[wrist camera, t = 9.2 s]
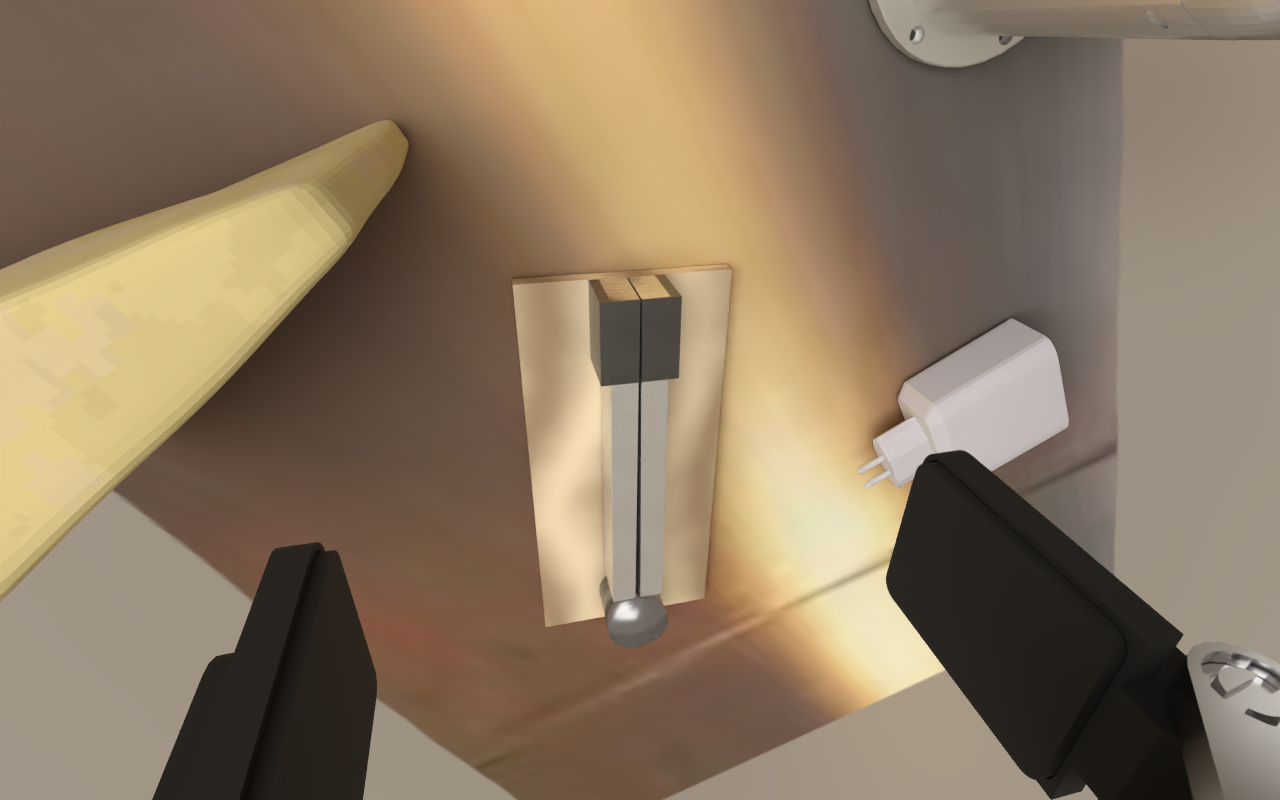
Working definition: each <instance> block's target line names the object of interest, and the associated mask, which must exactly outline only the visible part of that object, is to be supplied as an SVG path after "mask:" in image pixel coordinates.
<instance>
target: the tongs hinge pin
mask: <svg viewBox="0 0 1280 800" xmlns="http://www.w3.org/2000/svg"><path fill="white" fill-rule="evenodd" d="M599 593H600V597H601V601H602V605H603V610H604V614H605V618H606V622H607V627H608V631H609V635H610V638H611V639H612V640H613V642H615V643H616V644H618V645H620V646H623V647H639V646H643V645H646V644H648V643H650V642H652V641H654V640H656V639H657V638H658V637H659V636H660V635H662V633H663V632H664V631H665V629H666V627H667V624H668V616H667V613H666V610H665V607H664V604H663V601H662V599H661V596H660V594H656V595H651V596H645V597H640V594H639V591H638V588H637V585H636V588H635V598H634V599H628V600H622V601H617V602H613V599H612V595H611V591H610V588H609V584H608V580H607V576H605V577H604V578H603V580H602V582H601V584H600V587H599Z"/></svg>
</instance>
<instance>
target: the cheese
mask: <svg viewBox="0 0 1280 800" xmlns="http://www.w3.org/2000/svg"><path fill="white" fill-rule="evenodd" d="M408 147H409V143H408V141H407V139H406V137H405V136H404V135H403V133H402V132H401V130H400V129H399V128H398V126H397V125H396V124H395V123H394V122H393V121H390V120H383V121H379V122H376V123H373V124H370V125H368V126H365V127H363V128H361V129H358V130H356V131H354V132H352V133H349V134H347V135H345V136H343V137H340V138H338V139H336V140H334V141H331V142H329V143H327V144H325V145H322V146H320V147H318V148H316V149H313V150H311V151H309V152H306V153H304V154H302V155H300V156H297V157H295V158H293V159H290V160H288V161H286V162H283V163H281V164H279V165H276V166H274V167H272V168H269V169H267V170H265V171H262V172H260V173H258V174H256V175H253V176H251V177H249V178H246V179H244V180H242V181H240V182H237V183H235V184H233V185H231V186H228V187H226V188H224V189H221V190H219V191H216V192H213V193H211V194H208V195H205V196H201V197H198V198H195V199H192V200H189V201H185V202H182V203H179V204H176V205H173V206H170V207H167V208H164V209H161V210H158V211H155V212H152V213H149V214H146V215H143V216H140V217H137V218H134V219H130V220H127V221H124V222H121V223H118V224H115V225H112V226H110V227H107V228H104V229H101V230H98V231H95V232H92V233H90V234H87V235H84V236H81V237H78V238H76V239H73V240H70V241H68V242H65V243H63V244H60V245H58V246H55V247H53V248H50V249H48V250H45V251H43V252H40V253H38V254H35V255H33V256H31V257H28V258H26V259H24V260H22V261H19V262H17V263H15V264H12V265H10V266H8V267H6V268H4V269H1V270H0V601H1V600H2V599H3V598H4V597H5V596H7V595H8V594H9V593H10V592H11V591H12V590H13V589H14V587H16V586H17V585H18V584H19V583H20V582H21V581H22V580H23V579H24V578H25V577H26V575H28V574H29V572H31V570H32V569H33V568H34V567H35V566H36V565H37V564H38V563H39V562H40V561H41V560H42V559H43V558H44V557H45V556H46V555H47V554H48V553H49V552H50V551H51V550H52V549H53V548H54V547H55V546H56V545H57V544H58V543H59V542H60V541H61V540H62V539H63V538H64V537H65V536H66V535H67V534H68V533H69V532H70V531H71V530H72V529H73V528H74V527H75V526H76V525H77V524H78V523H79V522H80V521H81V520H82V519H83V518H84V517H85V516H86V515H87V514H88V513H89V512H90V511H91V510H92V509H93V508H94V507H95V506H96V505H97V504H98V503H99V502H100V501H101V500H102V499H103V498H104V497H106V496H107V495H108V494H109V493H110V492H111V491H112V490H113V489H114V488H115V487H116V486H117V485H118V484H119V483H120V482H121V481H122V480H123V479H125V478H126V477H127V476H128V475H129V474H130V473H131V472H132V471H133V470H134V469H135V468H136V467H137V466H139V465H140V464H141V463H142V462H143V461H144V460H145V459H146V458H147V457H148V456H149V455H150V454H152V453H153V452H154V451H155V450H156V449H157V448H158V447H159V446H160V445H161V444H162V443H164V442H165V441H166V440H167V439H168V438H169V437H170V436H171V435H172V434H173V433H174V432H175V431H177V430H178V429H179V428H180V427H181V426H182V425H183V424H184V423H185V422H186V421H187V420H188V419H189V418H190V417H191V416H193V415H194V414H195V413H196V412H197V411H198V410H199V409H200V408H201V407H202V406H203V405H204V404H205V403H206V402H207V401H208V400H209V399H210V398H211V397H212V396H213V395H214V394H215V393H216V392H217V391H218V390H219V389H220V388H221V387H222V386H223V385H224V384H225V383H226V382H227V381H228V380H229V379H230V378H231V377H232V376H233V375H234V373H235V372H236V371H237V370H238V369H239V368H240V367H241V366H242V365H243V364H244V363H245V362H246V361H247V360H248V358H249V357H250V356H251V355H252V354H253V353H254V352H255V351H256V350H257V349H258V347H259V346H260V345H261V344H262V343H263V342H264V341H265V340H266V339H267V337H268V336H269V335H270V334H271V333H272V332H273V331H274V330H275V329H276V327H277V326H278V325H279V324H280V323H281V322H282V321H283V320H284V319H285V317H286V316H287V315H288V314H289V313H290V312H291V311H292V310H293V309H294V307H295V306H296V305H297V304H298V303H299V302H300V301H301V300H302V299H303V298H304V296H305V295H306V294H307V293H308V292H309V291H310V290H311V289H312V288H313V287H314V286H315V285H316V283H317V282H318V281H319V280H320V279H321V278H322V277H323V276H324V275H325V274H326V273H327V272H328V271H329V270H330V269H331V267H332V266H333V265H334V264H335V263H336V262H337V261H338V260H339V259H340V258H341V256H342V255H343V254H344V253H345V251H346V250H347V249H348V248H349V247H350V245H351V244H352V243H353V241H354V240H355V238H356V236H357V235H358V233H359V232H360V230H361V229H362V227H363V225H364V224H365V222H366V221H367V219H368V218H369V216H370V215H371V214H372V212H373V211H374V209H375V208H376V207H377V205H378V204H379V203H380V201H381V200H382V199H383V197H384V196H385V195H386V194H387V192H388V191H389V190H390V188H391V187H392V185H393V184H394V182H395V181H396V179H397V178H398V176H399V174H400V172H401V169H402V167H403V164H404V161H405V158H406V155H407V151H408Z"/></svg>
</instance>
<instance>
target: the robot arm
mask: <svg viewBox="0 0 1280 800" xmlns="http://www.w3.org/2000/svg"><path fill="white" fill-rule="evenodd" d="M869 2H870V6H871V9H872V12H873V14H874V16H875V18H876V20H877V22H878V24H879V26H880V28H881V30H882V31H883V33H884V34H885V35H886V36H887V38H888V39H889V40H890V41H891V43H892V44H893V45H894V46H895V47H896V48H897V49H899V50H900V51H901V52H903V53H904V54H905V55H907V56H908V57H909V58H911V59H914V60H916V61H919V62H921V63H924V64H926V65H933V66H940V67H966V66H970V65H974V64H979V63H983V62H985V61H987V60H989V59H991V58H994V57H996V56H998V55H1000V54H1002V53H1004V52H1005V51H1007V50H1008V49H1009V48H1011V47H1012V46H1014V45H1015V44H1017V43H1018V42H1020V41H1021V40H1022V39H1023V38H1024V37H1080V38H1135V39H1136V38H1138V39H1192V40H1280V0H869ZM910 33H911V36H910ZM886 584H887V588H888V591H889V593H890V595H891V597H892V598H893V600H894V601H895V602H896V604H897V605H898V606H899V608H900V609H901V610H902V612H903V613H904V614H905V616H906V617H907V618H908V620H909V621H910V622H911V624H912V625H913V626H914V628H915V629H916V630H917V632H918V633H919V634H920V636H921V637H922V639H923V640H924V641H925V643H926V644H927V645H928V647H929V648H930V649H931V651H932V652H933V653H934V655H935V656H936V657H937V659H938V660H939V661H940V663H941V664H942V665H943V667H944V668H945V669H946V671H947V672H948V673H949V675H950V676H951V677H952V679H953V680H954V681H955V683H956V684H957V685H958V686H959V688H960V689H961V691H962V692H963V693H964V695H965V696H966V697H967V699H968V700H969V701H970V703H971V704H972V705H973V707H974V708H975V710H976V711H977V712H978V713H979V715H980V716H981V717H982V719H983V720H984V722H985V723H986V724H987V726H989V728H990V730H991V731H992V732H993V734H994V735H995V736H996V738H997V739H998V740H999V742H1000V743H1001V744H1002V746H1003V747H1004V748H1005V750H1006V751H1007V752H1008V754H1009V755H1010V756H1011V758H1012V759H1013V760H1014V762H1015V763H1016V764H1017V766H1018V767H1019V768H1020V769H1021V771H1022V772H1023V773H1024V774H1025V775H1027V776H1028V777H1029V778H1032V779H1034V780H1036V781H1037V782H1038V783H1039V784H1040V786H1041V787H1042V788H1043V790H1044V791H1045V792H1046V794H1047V795H1048V796H1049V798H1050V799H1051V800H1052V799H1055V798H1059V797H1062V796H1066V795H1070V794H1073V793H1077V792H1081V791H1082V790H1083V788H1084V787H1085V785H1086V784H1087V786H1088V787H1089V788H1090V789H1091V790H1092V792H1093V793H1094V794H1095V795H1096V797H1097V798H1098V800H1280V665H1279V664H1277V663H1276V662H1274V661H1272V660H1270V659H1268V658H1266V657H1265V656H1263V655H1261V654H1258V653H1256V652H1253V651H1250V650H1248V649H1245V648H1243V647H1240V646H1235V645H1230V644H1226V643H1222V642H1204V643H1201V644H1199V645H1196V646H1194V647H1192V649H1191V650H1190V651H1189V653H1188V654H1187V656H1186V655H1184V654H1183V653H1182V652H1181V651H1180V650H1179V649H1178V648H1177V647H1176V645H1177V644H1178V642H1179V641H1180V639H1181V638H1182V636H1183V634H1182V633H1181V632H1180V631H1179V630H1178V629H1176V628H1175V627H1174V626H1173V625H1172V624H1171V623H1169V622H1168V621H1167V620H1166V619H1164V618H1163V617H1162V616H1161V615H1160V614H1159V613H1158V612H1156V611H1155V610H1154V609H1153V608H1152V607H1150V606H1149V605H1148V604H1147V603H1146V602H1144V601H1143V600H1142V599H1141V598H1140V597H1139V596H1137V595H1136V594H1135V593H1134V592H1133V591H1132V590H1130V589H1129V588H1128V587H1127V586H1126V585H1124V584H1123V583H1122V582H1121V581H1120V580H1119V579H1117V578H1116V577H1115V576H1114V575H1113V574H1111V573H1110V572H1109V571H1108V570H1107V569H1106V568H1104V567H1103V566H1102V565H1101V564H1100V563H1099V562H1097V561H1096V560H1095V559H1094V558H1093V557H1091V556H1090V555H1089V554H1088V553H1087V552H1086V551H1084V550H1083V549H1082V548H1081V547H1080V546H1078V545H1077V544H1076V543H1075V542H1074V541H1073V540H1071V539H1070V538H1069V537H1068V536H1067V535H1065V534H1064V533H1063V532H1062V531H1061V530H1060V529H1058V528H1057V527H1056V526H1055V525H1054V524H1052V523H1051V522H1050V521H1049V520H1048V519H1047V518H1045V517H1044V516H1043V515H1042V514H1041V513H1039V512H1038V511H1037V510H1036V509H1035V508H1034V507H1032V506H1031V505H1030V504H1029V503H1028V502H1027V501H1025V500H1024V499H1023V498H1022V497H1021V496H1019V495H1018V494H1017V493H1016V492H1015V491H1014V490H1012V489H1011V488H1010V487H1009V486H1008V485H1006V484H1005V483H1004V482H1003V481H1002V480H1001V479H999V478H998V477H997V476H996V475H995V474H993V473H992V472H991V471H990V470H989V469H988V468H986V467H985V466H984V465H983V464H982V463H980V462H979V461H978V460H977V459H976V458H975V457H973V456H972V455H971V454H970V453H968V452H966V451H963V450H956V451H949V452H942V453H935V454H931V455H928V456H927V457H926V458H925V459H924V461H923V464H921V465H919V466H918V467H917V470H916V472H915V476H914V479H913V483H912V486H911V490H910V493H909V497H908V501H907V504H906V508H905V511H904V515H903V518H902V522H901V525H900V529H899V532H898V536H897V539H896V543H895V547H894V550H893V554H892V557H891V561H890V564H889V568H888V571H887V575H886ZM376 695H377V679H376V672H375V668H374V665H373V662H372V659H371V656H370V652H369V649H368V646H367V643H366V639H365V636H364V633H363V630H362V627H361V623H360V620H359V617H358V614H357V611H356V607H355V604H354V601H353V598H352V595H351V591H350V588H349V585H348V582H347V579H346V575H345V572H344V569H343V566H342V563H341V559H340V556H339V554H338V552H337V551H336V550H332V551H326V552H325V550H324V547H323V546H322V544H321V543H318V542H316V543H309V544H302V545H295V546H288V547H281V548H276V549H275V550H273V551H272V553H271V555H270V557H269V560H268V563H267V565H266V568H265V571H264V574H263V576H262V579H261V582H260V584H259V587H258V590H257V593H256V595H255V598H254V601H253V603H252V606H251V609H250V612H249V614H248V617H247V620H246V623H245V625H244V628H243V630H242V633H241V636H240V639H239V641H238V644H237V647H236V649H235V652H234V653H230V654H224V655H220V656H216V657H215V658H214V659H213V660H212V661H211V662H210V663H209V664H208V666H207V668H206V670H205V672H204V674H203V676H202V678H201V681H200V683H199V686H198V688H197V690H196V693H195V695H194V698H193V700H192V703H191V705H190V708H189V710H188V713H187V715H186V718H185V720H184V723H183V725H182V727H181V730H180V732H179V735H178V737H177V740H176V742H175V745H174V747H173V750H172V752H171V755H170V757H169V760H168V762H167V764H166V767H165V769H164V772H163V774H162V777H161V779H160V782H159V784H158V787H157V789H156V792H155V794H154V797H153V799H152V800H363V794H364V786H365V779H366V771H367V763H368V757H369V749H370V741H371V733H372V726H373V719H374V711H375V703H376Z"/></svg>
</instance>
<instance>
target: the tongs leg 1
mask: <svg viewBox="0 0 1280 800" xmlns="http://www.w3.org/2000/svg"><path fill="white" fill-rule="evenodd" d="M588 285H589V322H590V358H591V361H592V364H593V366H594V369H595V372H596V374H597V377H598V380H599V382H600V385H601V427H602V480H603V533H604V568H605V572H606V576H607V580H608V584H609V588H610V591H611V595H612V599H613V602H617V601H622V600H628V599H634V598H635V588H636V523H637V459H638V395H639V357H640V299H639V297H638V295H637V294H636V292H635V291H634V289H633V288H632V286H631V284H630V283H629V281H628V280H627V278H626V277H625V278H610V279H594V280H588Z"/></svg>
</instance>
